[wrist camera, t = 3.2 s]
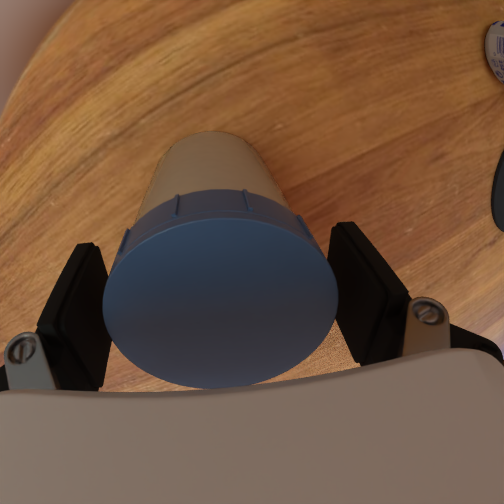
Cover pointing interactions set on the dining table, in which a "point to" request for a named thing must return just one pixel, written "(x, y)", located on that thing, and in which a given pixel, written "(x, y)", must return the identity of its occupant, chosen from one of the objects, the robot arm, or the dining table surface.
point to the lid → (219, 290)
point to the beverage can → (496, 49)
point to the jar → (209, 170)
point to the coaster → (498, 195)
